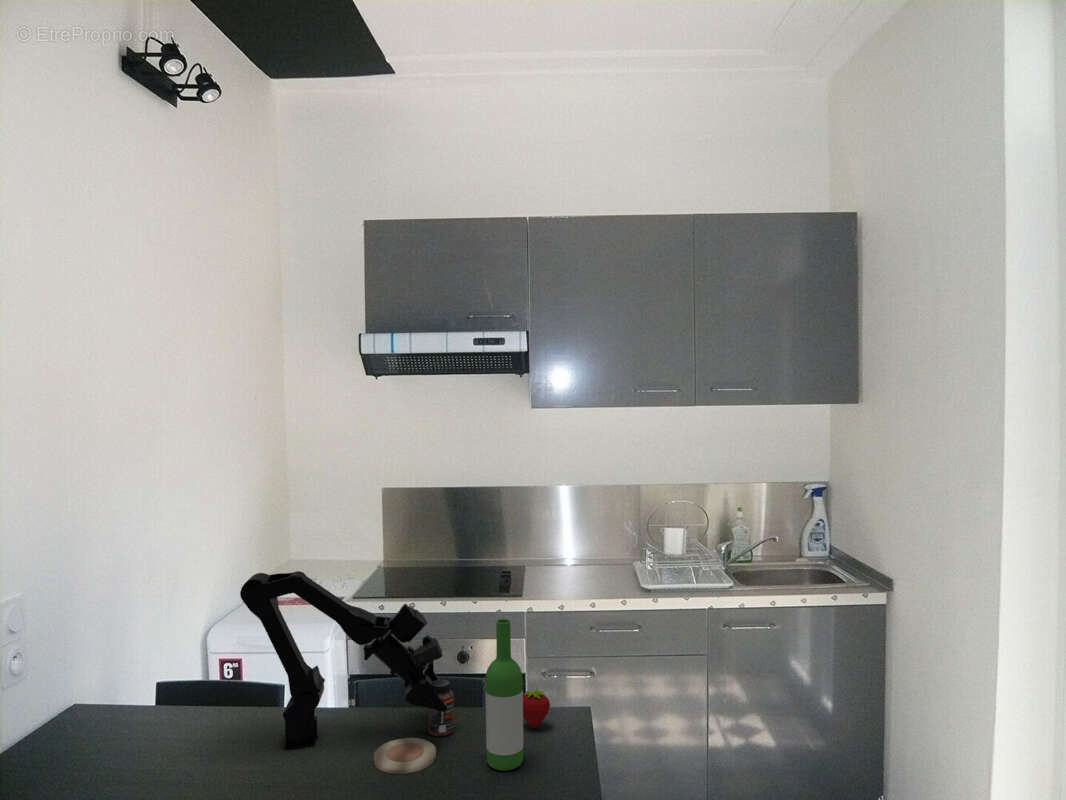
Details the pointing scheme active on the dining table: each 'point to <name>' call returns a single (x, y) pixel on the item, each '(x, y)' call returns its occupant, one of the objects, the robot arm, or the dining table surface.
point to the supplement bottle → (440, 720)
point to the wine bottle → (504, 705)
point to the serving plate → (404, 755)
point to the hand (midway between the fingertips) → (445, 701)
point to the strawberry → (535, 707)
